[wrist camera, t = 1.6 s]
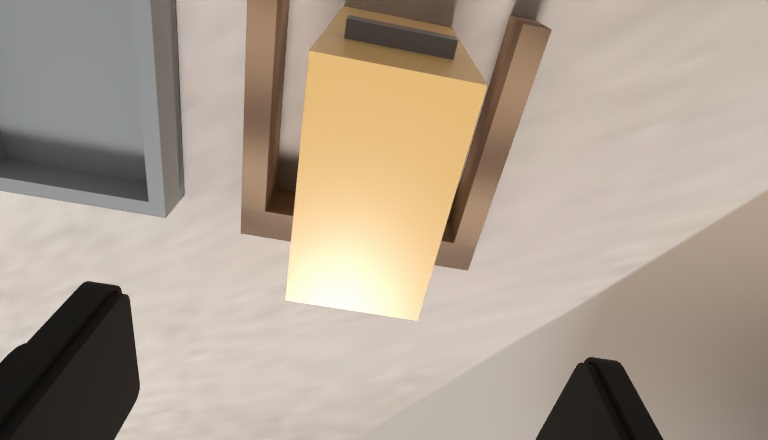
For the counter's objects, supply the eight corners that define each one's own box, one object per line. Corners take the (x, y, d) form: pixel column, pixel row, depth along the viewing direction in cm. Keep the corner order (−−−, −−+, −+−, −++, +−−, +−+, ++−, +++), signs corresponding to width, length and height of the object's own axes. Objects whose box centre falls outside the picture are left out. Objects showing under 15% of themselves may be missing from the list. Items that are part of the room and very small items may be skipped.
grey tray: (-78, -146, 19) (-140, -157, 16) (171, -93, 19) (143, -97, 17) (4, 165, 26) (-32, 185, 24) (184, 195, 26) (165, 217, 24)
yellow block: (346, -9, 21) (311, 27, 12) (454, 13, 21) (494, 63, 13) (322, 180, 26) (285, 300, 17) (410, 195, 26) (417, 320, 18)
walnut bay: (263, -36, 20) (248, -33, 18) (535, 20, 21) (551, 29, 19) (253, 209, 27) (240, 233, 25) (462, 244, 28) (467, 270, 26)
